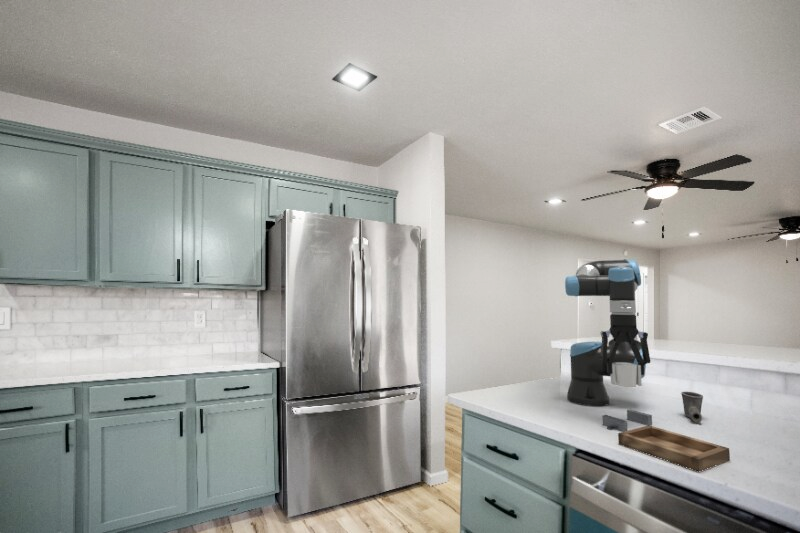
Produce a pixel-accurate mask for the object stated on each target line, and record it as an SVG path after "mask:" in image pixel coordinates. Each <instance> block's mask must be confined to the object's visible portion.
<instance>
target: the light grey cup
mask: <svg viewBox="0 0 800 533" xmlns="http://www.w3.org/2000/svg"><path fill="white" fill-rule="evenodd" d="M613 364H615V376H616V386H618V387H623V388H636V387H637V384H636V376H637V364H633V363H627V362H615V363H613Z"/></svg>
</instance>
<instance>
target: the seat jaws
mask: <svg viewBox="0 0 800 533" xmlns="http://www.w3.org/2000/svg"><path fill="white" fill-rule="evenodd" d="M652 416H653V415H652V414H650V413H645V412H641V411H637V410H633V409H627V410H626V417H627V418H626V419H627V420H625V419H622V418H619V417H615V416H612V415H608V414H605V415H602V419H601V420H602V426H604V427H606V430H609V431H611V430H616V431H620V432H624V431H628V421H632V422H635V423H639V424H643V425H645V426H648V425H650V426H653V417H652Z"/></svg>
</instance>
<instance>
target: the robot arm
mask: <svg viewBox="0 0 800 533" xmlns="http://www.w3.org/2000/svg"><path fill="white" fill-rule="evenodd" d="M564 285H565V286H564V287H565V288H564V289H565V295H567V296H568V297H609V312H610V316H609V322H610V324H609V326H610V328H609V330H606V331H603V330H601V331H600V336H601V341H585V342H584V341H583V342H576V343H574V344H573V343H572V345H571V346H570V354H569V357H570V376H571V378H570V383H569V386H568V390H567V392H566V397H567V398H566V399H567V401H569V402H571V403H574V404H577V405H582V406H590V407H591V406H593V407H604V406H608V405H609V404H610V396H609V395H608V391H607V389H606V387H605V384H604V383H605V382H604V377H610V384H611V385H612V386H613V385H614V386H615V385H616V376H615V364H613V363H615V362H627V363H633V364H637V376H636V386H638V387H642V386H643V385H642V384H643V383H642V379H643V378H645V376H646V368H647V364H651V357H650V351H649V344H648V337H649V336H648V335H649V333H648V332H646V331H640V330H639V329H638V327H637V316H636V311H637V310H636V306H637V305H636V291H637V290H638V287H640V286H641V285H642V278H641V270H640V266H639V264H638V261H636V260H635V259H627V258H626V259H625V258H624V259H616V260H615V259H613V260H610V259H609V260H608V259H607V260H595V261H591V262H588V263H585V264H583V265H581V266H580V267H578V268H577V270H576V272H575V275H571V276H570V275H569V276H568V275H567V276H566V277H565V281H564ZM610 335H611V339H610V340H609V339H608V338H609V337H610ZM638 338H639V339H638ZM616 386H617V385H616Z"/></svg>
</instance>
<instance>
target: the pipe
mask: <svg viewBox="0 0 800 533" xmlns="http://www.w3.org/2000/svg"><path fill="white" fill-rule="evenodd" d="M680 395H681V397H682V399H681V400H682V404H683V413H684V416H685V417H688V418H690V419H691V420H692V421H693V422H694V423H700V422H702V420H703V419H702V418H703V415H702V404H703V400H704V396H703V394H700V393H698V392H695V391H694V392H693V391H681V393H680Z"/></svg>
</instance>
